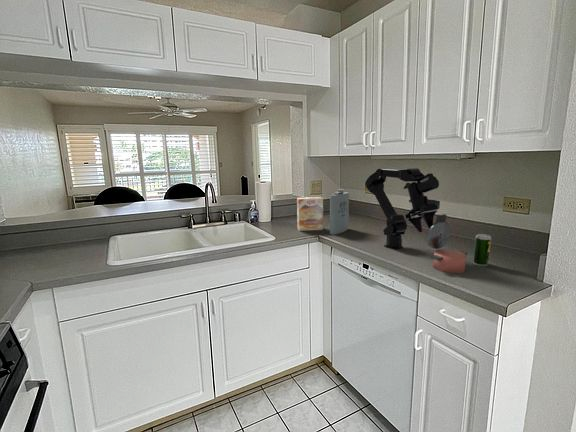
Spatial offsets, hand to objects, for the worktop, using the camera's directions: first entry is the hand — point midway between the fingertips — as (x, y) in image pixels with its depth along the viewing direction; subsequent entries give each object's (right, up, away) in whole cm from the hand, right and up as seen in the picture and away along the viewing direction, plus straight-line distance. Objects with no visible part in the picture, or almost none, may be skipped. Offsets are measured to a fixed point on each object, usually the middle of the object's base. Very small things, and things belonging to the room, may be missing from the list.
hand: (425, 230), depth 132 cm
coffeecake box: (-45, -2, +58) cm, 74 cm away
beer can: (+19, -13, -7) cm, 24 cm away
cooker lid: (+2, 0, -8) cm, 8 cm away
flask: (-28, -3, +51) cm, 59 cm away
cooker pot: (+4, -14, -10) cm, 18 cm away
